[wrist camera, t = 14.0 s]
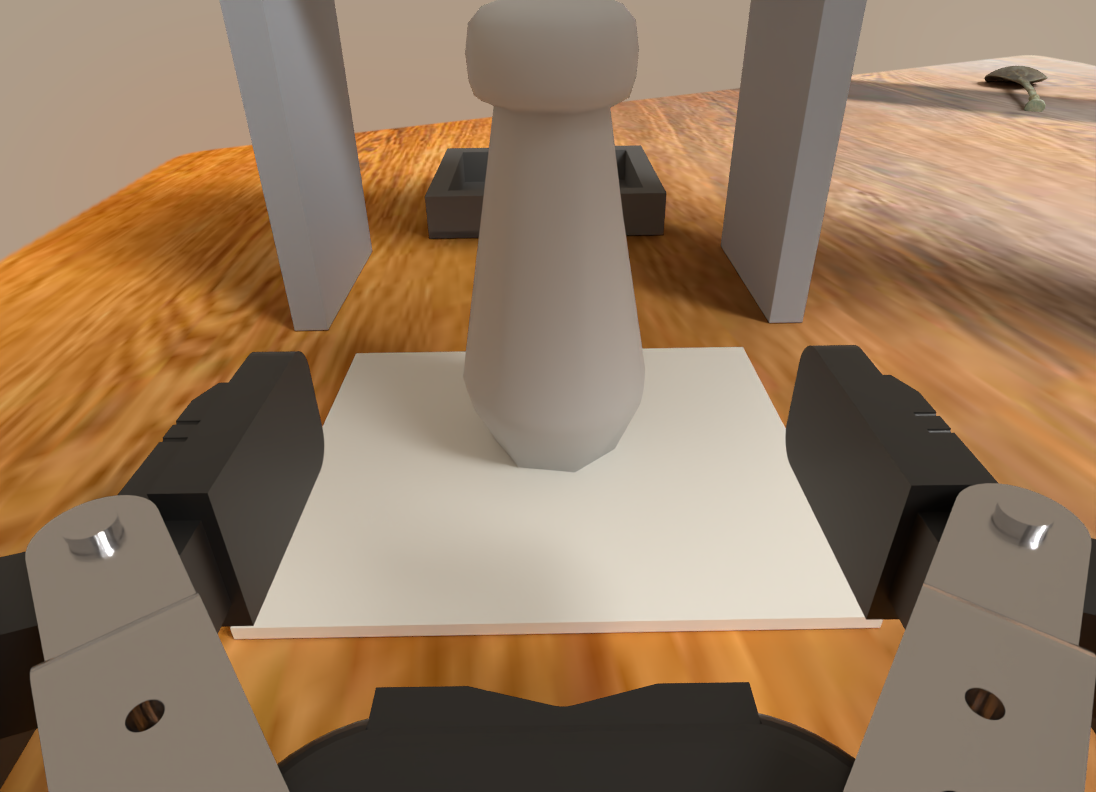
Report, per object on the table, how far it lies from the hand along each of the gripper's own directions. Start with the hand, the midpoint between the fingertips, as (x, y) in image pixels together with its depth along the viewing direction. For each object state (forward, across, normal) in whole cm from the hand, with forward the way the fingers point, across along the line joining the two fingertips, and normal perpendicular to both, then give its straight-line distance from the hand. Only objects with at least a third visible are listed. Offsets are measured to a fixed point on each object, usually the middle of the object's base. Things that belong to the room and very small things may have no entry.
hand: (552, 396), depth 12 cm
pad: (+9, 0, +8) cm, 12 cm away
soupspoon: (+77, -55, +8) cm, 95 cm away
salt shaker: (+10, 0, +8) cm, 12 cm away
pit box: (+37, 0, +8) cm, 38 cm away
